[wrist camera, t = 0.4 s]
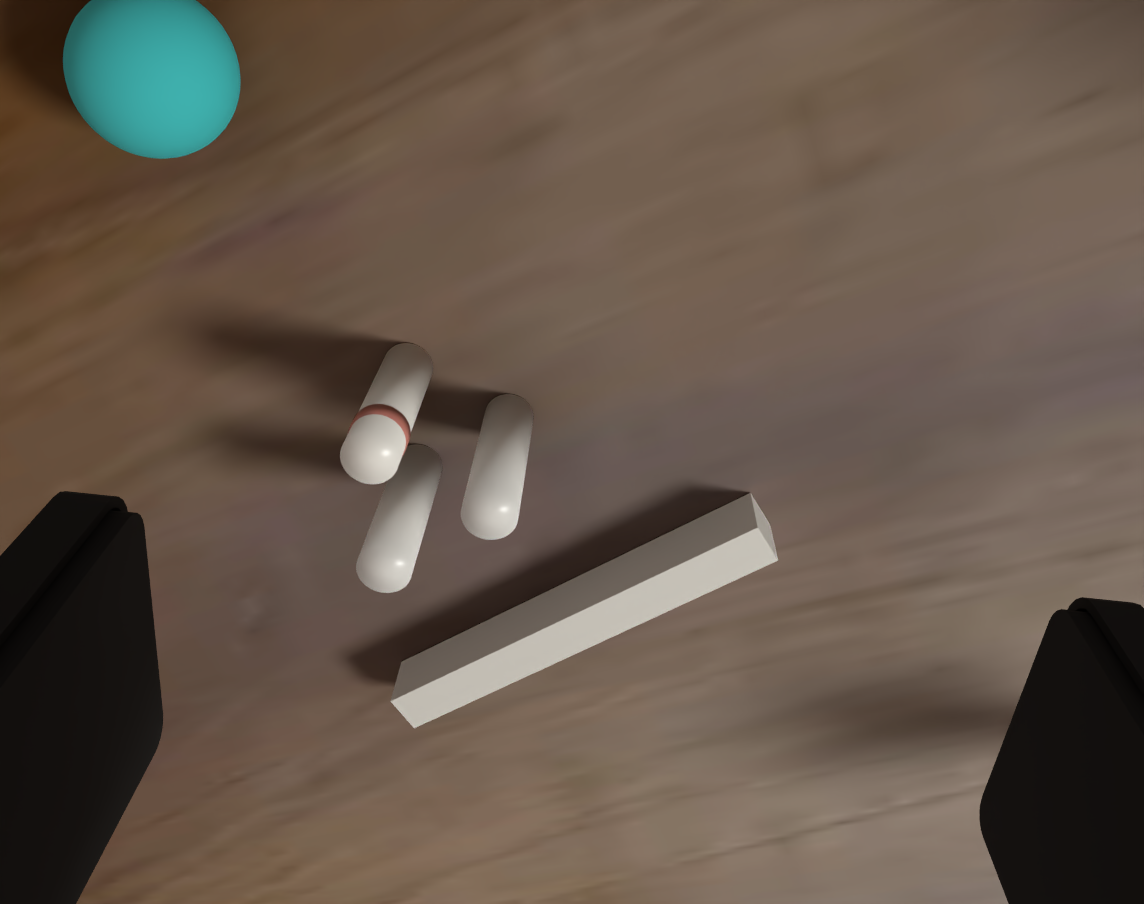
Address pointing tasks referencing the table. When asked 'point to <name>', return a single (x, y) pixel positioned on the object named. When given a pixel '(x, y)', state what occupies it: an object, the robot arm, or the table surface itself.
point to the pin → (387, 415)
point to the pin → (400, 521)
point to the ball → (152, 74)
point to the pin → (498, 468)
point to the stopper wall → (586, 610)
